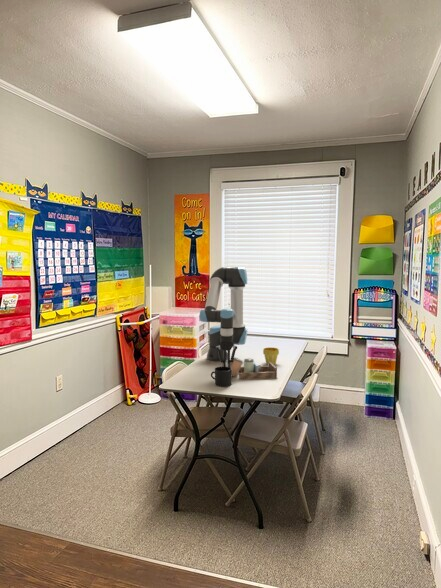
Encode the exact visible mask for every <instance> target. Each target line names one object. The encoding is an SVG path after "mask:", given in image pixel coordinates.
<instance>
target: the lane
mask: <svg viewBox="0 0 441 588" xmlns="http://www.w3.org/2000/svg"><path fill="white" fill-rule="evenodd" d="M277 373H278V367H276V365H275V364H272V363H271V362H269V364H268V365H261V368H258V372H254V373H244V366H241V368H240V370H239V372H238V379H239V380H256V379H257V380H259V379H276V378H278V374H277Z"/></svg>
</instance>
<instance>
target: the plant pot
mask: <svg viewBox="0 0 441 588" xmlns="http://www.w3.org/2000/svg"><path fill="white" fill-rule="evenodd" d="M262 351H263V352H262V353H263V355H264V359H265V364H267V365H269V362H271V363H272V364H273V365H275V364H277V359H278V355H279V353H280V349H279V347H278V348H277V347H272V346H271V347H264V348H263V350H262Z"/></svg>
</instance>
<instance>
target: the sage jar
mask: <svg viewBox="0 0 441 588" xmlns="http://www.w3.org/2000/svg"><path fill="white" fill-rule="evenodd" d="M254 361H255V360H254V358H244V360H243V367H244V373H254Z"/></svg>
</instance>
